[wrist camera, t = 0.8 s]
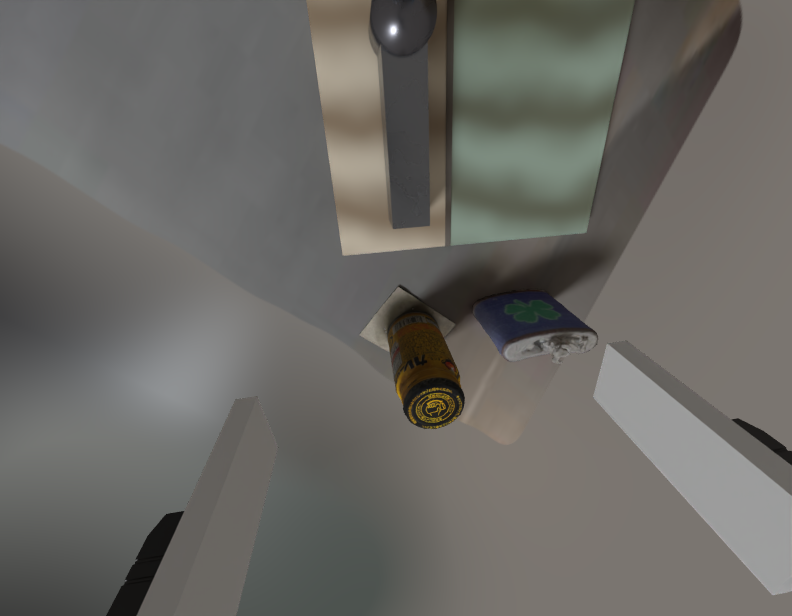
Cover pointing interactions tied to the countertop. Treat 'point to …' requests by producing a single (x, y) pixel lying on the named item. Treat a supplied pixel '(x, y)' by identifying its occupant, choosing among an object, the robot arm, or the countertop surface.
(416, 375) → the condiment
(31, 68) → the countertop surface
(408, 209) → the latch bar
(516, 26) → the two-tone base plate
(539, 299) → the flask
